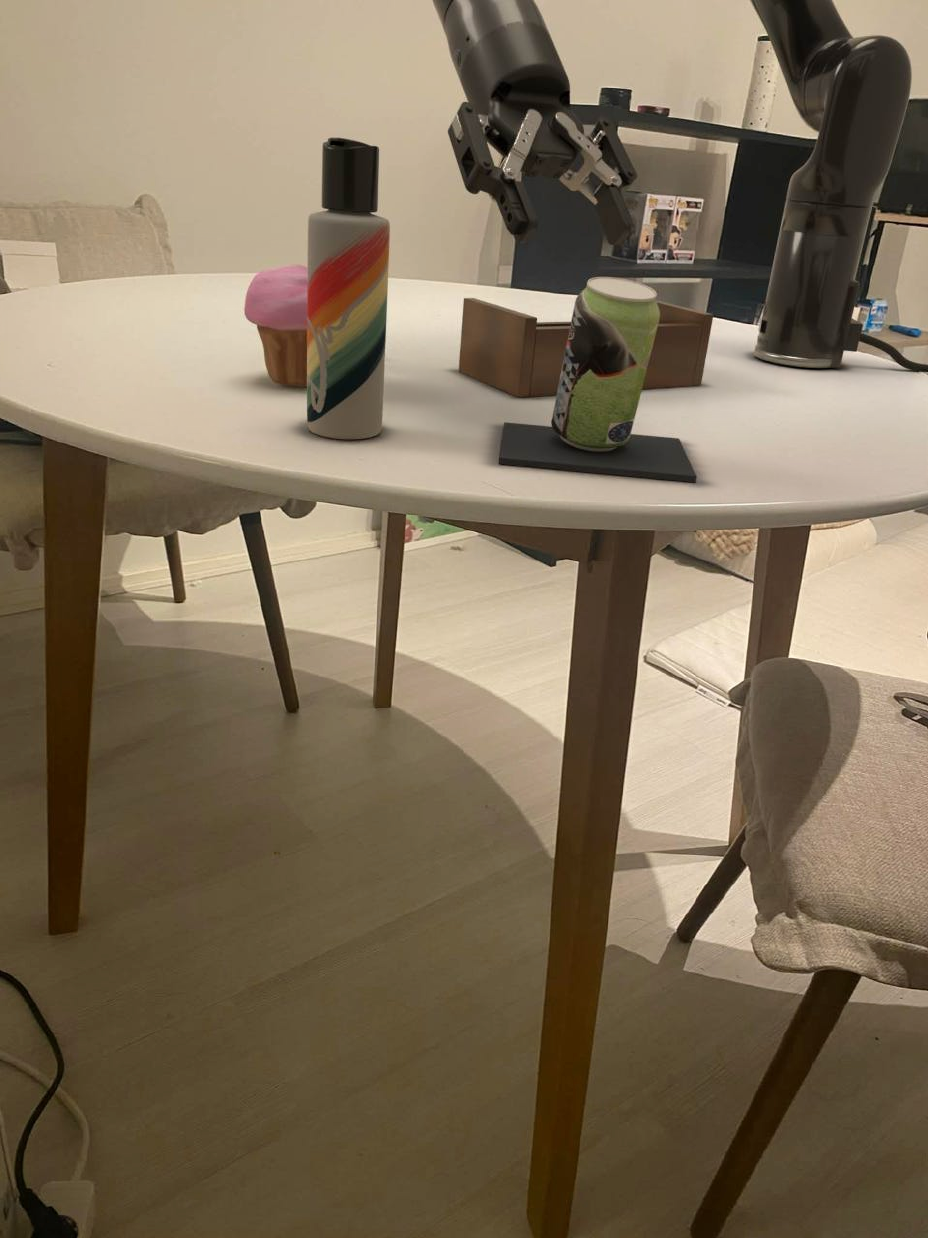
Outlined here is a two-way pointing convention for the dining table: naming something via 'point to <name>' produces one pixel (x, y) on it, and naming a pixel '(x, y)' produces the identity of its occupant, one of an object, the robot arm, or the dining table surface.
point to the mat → (595, 454)
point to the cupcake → (281, 321)
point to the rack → (534, 351)
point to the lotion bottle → (347, 296)
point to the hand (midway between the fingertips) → (576, 236)
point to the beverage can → (605, 363)
